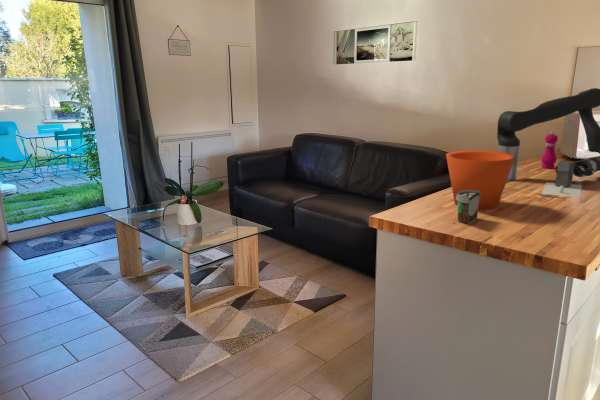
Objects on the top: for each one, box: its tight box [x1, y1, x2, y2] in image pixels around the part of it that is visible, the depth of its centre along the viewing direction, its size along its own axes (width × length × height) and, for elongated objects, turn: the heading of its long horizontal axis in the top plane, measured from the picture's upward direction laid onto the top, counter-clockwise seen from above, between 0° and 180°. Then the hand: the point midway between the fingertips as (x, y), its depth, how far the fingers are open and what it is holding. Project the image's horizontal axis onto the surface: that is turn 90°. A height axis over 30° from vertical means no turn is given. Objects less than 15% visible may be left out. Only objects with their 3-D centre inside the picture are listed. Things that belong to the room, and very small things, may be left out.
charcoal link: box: [555, 160, 575, 188], centre depth 194 cm, size 5×5×11 cm
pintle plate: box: [540, 181, 583, 200], centre depth 190 cm, size 24×14×4 cm, turn 147°
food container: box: [456, 190, 480, 226], centre depth 156 cm, size 12×6×10 cm, turn 141°
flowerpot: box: [445, 149, 515, 210], centre depth 174 cm, size 25×25×20 cm
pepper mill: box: [540, 131, 559, 170], centre depth 239 cm, size 7×7×20 cm
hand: (567, 172), depth 195 cm, fingers open, 8 cm apart
